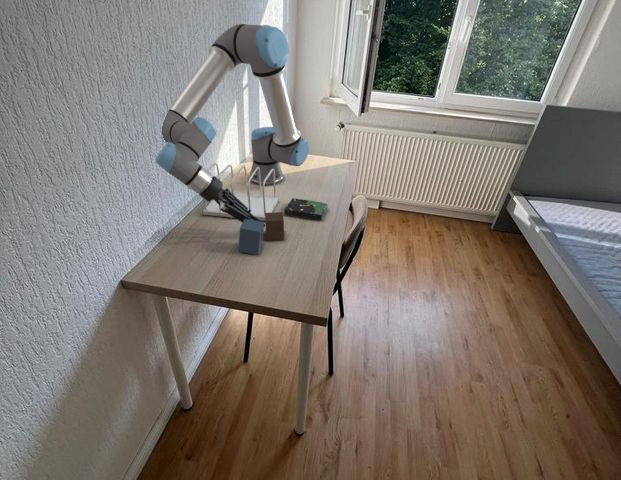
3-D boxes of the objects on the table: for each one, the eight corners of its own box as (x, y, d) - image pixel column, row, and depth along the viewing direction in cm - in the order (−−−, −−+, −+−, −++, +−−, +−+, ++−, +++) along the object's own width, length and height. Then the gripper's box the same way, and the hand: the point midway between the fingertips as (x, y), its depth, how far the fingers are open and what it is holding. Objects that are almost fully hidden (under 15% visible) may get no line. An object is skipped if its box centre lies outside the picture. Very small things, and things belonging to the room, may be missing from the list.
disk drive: (284, 215, 134) (322, 221, 131) (284, 209, 132) (322, 214, 129) (292, 203, 142) (327, 208, 139) (292, 197, 141) (327, 202, 138)
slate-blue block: (243, 241, 117) (244, 218, 112) (261, 244, 117) (264, 222, 112) (238, 251, 112) (239, 228, 107) (258, 255, 112) (260, 231, 107)
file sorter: (278, 201, 143) (277, 165, 135) (267, 222, 129) (266, 183, 120) (219, 195, 146) (215, 159, 137) (203, 215, 132) (197, 177, 123)
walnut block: (265, 232, 123) (265, 212, 119) (282, 231, 124) (282, 212, 119) (266, 241, 118) (265, 221, 114) (284, 240, 119) (283, 220, 115)
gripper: (199, 184, 113) (253, 225, 125) (196, 202, 103) (255, 245, 115) (214, 168, 111) (268, 211, 123) (212, 185, 101) (271, 230, 113)
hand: (262, 227), depth 119 cm, fingers closed
